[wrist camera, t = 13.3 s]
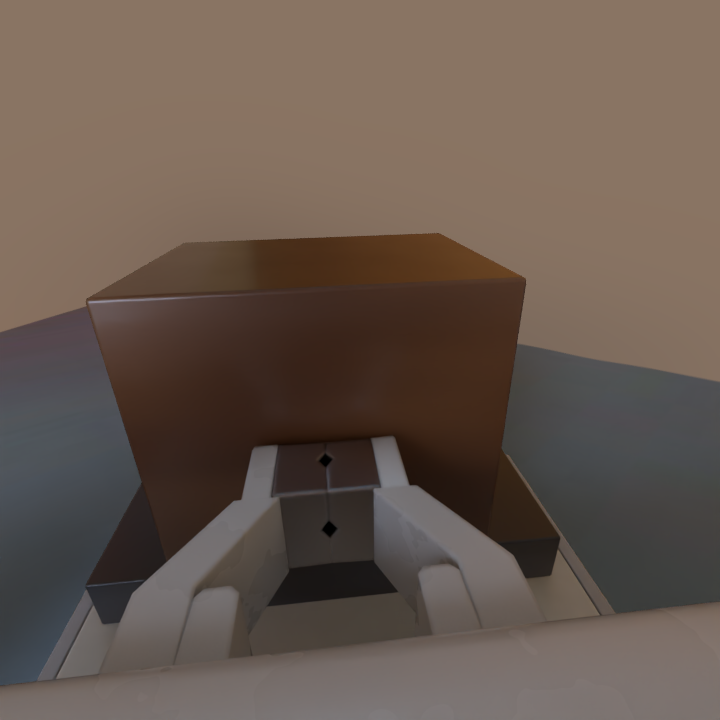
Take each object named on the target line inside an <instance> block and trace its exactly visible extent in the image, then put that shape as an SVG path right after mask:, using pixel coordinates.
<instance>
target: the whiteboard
mask: <svg viewBox="0 0 720 720" xmlns="http://www.w3.org/2000/svg"><path fill="white" fill-rule="evenodd" d="M506 456H507V458H508V459H509V461H510V462H511V464H512V465H513V467H514V468H515V470H516V471H517V473H518V474H519V476H520V477H521V479H522V480H523V482H524V483H525V485H526V486H527V488H528V489H529V491H530V492H531V494H532V495H533V497H534V498H535V500H536V501H537V503H538V504H539V506H540V507H541V509H542V510H543V512H544V513H545V515H546V516H547V518H548V519H549V521H550V522H551V524H552V525H553V527H554V528H555V530H556V531H557V533H558V534H559V536H560V538H561V539H560V543H559V547H558V551H557V555H556V559H555V563H554V567H553V571H552V575H550V576H544V577H534V578H526V580H527V582H528V584H529V586H530V588H531V590H532V592H533V594H534V596H535V598H536V600H537V602H538V604H539V606H540V608H541V610H542V611H543V613H544V615H545V617H546V619H547V621H555V620H563V619H572V618H580V617H589V616H598V615H606V614H615V612H614V610H613V609H612V607H611V606H610V604H609V603H608V601H607V600H606V598H605V597H604V596H603V594H602V593H601V591H600V590H599V588H598V587H597V585H596V584H595V582H594V581H593V579H592V578H591V576H590V575H589V573H588V572H587V570H586V569H585V567H584V566H583V564H582V563H581V561H580V560H579V558H578V557H577V556H576V554H575V553H574V551H573V550H572V548H571V547H570V545H569V544H568V542H567V541H566V539H565V538H564V536H563V535H562V533H561V532H560V530H559V529H558V527H557V526H556V524H555V523H554V521H553V520H552V518H551V517H550V516H549V514H548V513H547V511H546V510H545V508H544V507H543V505H542V504H541V502H540V501H539V499H538V498H537V496H536V495H535V493H534V492H533V490H532V489H531V487H530V486H529V484H528V483H527V481H526V480H525V478H524V477H523V476H522V474H521V473H520V471H519V470H518V468H517V467H516V465H515V464H514V462H513V461H512V459H511V458H510V456H509V455H506ZM415 619H416V613H415V612H414V610H413V609H412V608H411V607H410V605H409V604H408V603H407V602H406V601H405V599H404V598H403V597H402V596H401V594H400V593H399V592H397V593H388V594H378V595H369V596H360V597H351V598H342V599H333V600H323V601H314V602H305V603H296V604H287V605H278V606H268V607H266V609H265V610H264V612H263V613H262V615H261V617H260V618H259V620H258V621H257V623H256V624H255V626H254V628H253V629H252V631H251V632H250V634H249V635H248V636H249V641H250V646H251V651H252V655H253V656H257V655H265V654H274V653H282V652H291V651H299V650H308V649H316V648H325V647H334V646H342V645H351V644H359V643H368V642H376V641H385V640H394V639H402V638H411V637H414V635H415ZM118 625H119V623H112V624H102V623H101V620H100V618H99V616H98V614H97V611H96V609H95V607H94V605H93V603H92V600H91V598H90V596H89V594H88V591H87V589H86V591H85V593H84V595H83V596H82V598H81V600H80V602H79V604H78V606H77V607H76V609H75V611H74V613H73V615H72V617H71V619H70V620H69V622H68V624H67V626H66V628H65V630H64V631H63V633H62V635H61V637H60V639H59V641H58V642H57V644H56V646H55V648H54V650H53V652H52V653H51V655H50V657H49V659H48V661H47V663H46V665H45V666H44V668H43V670H42V672H41V674H40V676H39V677H38V679H37V681H43V680H52V679H60V678H69V677H77V676H86V675H94V674H98V671H99V669H100V667H101V665H102V662H103V660H104V658H105V655H106V653H107V651H108V648H109V646H110V644H111V641H112V639H113V637H114V635H115V632H116V630H117V628H118Z"/></svg>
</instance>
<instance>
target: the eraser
mask: <svg viewBox="0 0 720 720" xmlns="http://www.w3.org/2000/svg"><path fill="white" fill-rule="evenodd" d="M525 286H526V279H525V278H524V277H522V276H520V275H518V274H517V273H515V272H513V271H511V270H509V269H507V268H505V267H503V266H501V265H499V264H497V263H495V262H494V261H492V260H489V259H488V258H486V257H484V256H482V255H480V254H478V253H476V252H474V251H472V250H470V249H468V248H467V247H465V246H463V245H461V244H459V243H457V242H455V241H453V240H451V239H449V238H447V237H445V236H443V235H441V234H439V233H436V234H435V233H434V234H433V233H432V234H408V235H379V236H354V237H326V238H300V239H275V240H249V241H248V240H247V241H220V242H195V243H183V244H181V245H180V246H178V247H176V248H174V249H173V250H171V251H169V252H168V253H166V254H164V255H162V256H160V257H159V258H157V259H155V260H153V261H152V262H150V263H148V264H147V265H145V266H143V267H141V268H140V269H138V270H136V271H134V272H133V273H131V274H129V275H127V276H126V277H124V278H122V279H121V280H119V281H117V282H115V283H113V284H112V285H110V286H108V287H106V288H105V289H103V290H101V291H100V292H98V293H96V294H94V295H92V296H91V297H89V298H87V299H86V305H87V308H88V312H89V315H90V318H91V321H92V324H93V328H94V331H95V334H96V337H97V340H98V344H99V347H100V350H101V353H102V356H103V360H104V363H105V366H106V369H107V372H108V376H109V379H110V382H111V385H112V388H113V391H114V395H115V398H116V401H117V404H118V407H119V411H120V414H121V417H122V420H123V423H124V427H125V430H126V433H127V436H128V439H129V443H130V446H131V449H132V452H133V455H134V459H135V462H136V465H137V468H138V471H139V475H140V478H141V481H142V483H141V485H140V487H139V488H138V490H137V492H136V494H135V496H134V498H133V499H132V501H131V503H130V505H129V507H128V508H127V510H126V512H125V514H124V516H123V518H122V519H121V521H120V523H119V525H118V527H117V528H116V530H115V532H114V534H113V536H112V538H111V539H110V541H109V543H108V545H107V547H106V549H105V550H104V552H103V554H102V556H101V558H100V559H99V561H98V563H97V565H96V567H95V569H94V570H93V572H92V574H91V576H90V578H89V579H88V581H87V583H86V589H87V591H88V594H89V596H90V598H91V600H92V603H93V605H94V607H95V609H96V611H97V614H98V616H99V618H100V620H101V623H102V624H112V623H120V621H121V618H122V616H123V614H124V611H125V609H126V607H127V605H128V602H129V600H130V598H131V595H132V593H133V592H134V591H136V590H137V589H138V588H139V587H140V586H141V585H142V584H143V583H144V582H145V581H147V580H148V579H149V578H150V577H151V576H152V575H153V574H154V573H155V572H156V571H157V570H159V569H160V568H161V567H162V566H163V565H164V564H165V563H166V562H167V561H168V560H170V559H171V558H172V557H173V556H174V555H175V554H176V553H177V552H178V551H179V550H181V549H182V548H183V547H184V546H185V545H186V544H187V543H188V542H189V541H190V540H191V539H193V538H194V537H195V536H196V535H197V534H198V533H199V532H200V531H201V530H202V529H204V528H205V527H206V526H207V525H208V524H209V523H210V522H211V521H212V520H213V519H215V518H216V517H217V516H218V515H219V514H220V513H221V512H222V511H223V510H224V509H225V508H227V507H228V506H229V505H230V504H231V503H232V502H233V501H238V500H241V499H242V494H243V490H244V485H245V481H246V476H247V472H248V467H249V463H250V458H251V454H252V450H253V449H254V447H255V446H265V445H279V444H297V443H315V442H336V441H347V440H359V439H370V438H374V437H383V436H392V435H393V436H394V437H395V439H396V442H397V446H398V449H399V452H400V455H401V459H402V462H403V465H404V468H405V472H406V475H407V478H408V482H409V485H410V486H411V485H417V486H419V487H420V488H421V489H423V490H424V491H426V492H427V493H428V494H430V495H431V496H432V497H434V498H435V499H437V500H438V501H439V502H441V503H442V504H444V505H445V506H446V507H448V508H449V509H450V510H452V511H453V512H455V513H456V514H457V515H459V516H460V517H461V518H463V519H464V520H466V521H467V522H468V523H470V524H471V525H473V526H474V527H475V528H477V529H478V530H479V531H481V532H482V533H484V534H485V535H486V536H488V537H489V538H490V539H492V540H493V541H495V542H496V543H497V544H499V545H500V546H502V547H503V548H504V549H506V550H507V551H508V552H510V553H511V554H513V555H514V557H515V559H516V561H517V563H518V565H519V567H520V569H521V571H522V573H523V575H524V576H525V578H534V577H544V576H550V575H552V571H553V567H554V563H555V559H556V555H557V551H558V547H559V543H560V539H561V538H560V536H559V534H558V533H557V531H556V530H555V528H554V527H553V525H552V524H551V522H550V521H549V519H548V518H547V516H546V515H545V513H544V512H543V510H542V509H541V507H540V506H539V504H538V503H537V501H536V500H535V498H534V497H533V495H532V494H531V492H530V491H529V489H528V488H527V486H526V485H525V483H524V482H523V480H522V479H521V477H520V476H519V474H518V473H517V471H516V470H515V468H514V467H513V465H512V464H511V462H510V461H509V459H508V458H507V456H506V455H505V453H504V452H503V450H502V449H501V447H502V440H503V434H504V427H505V420H506V414H507V407H508V400H509V394H510V387H511V380H512V373H513V367H514V360H515V353H516V347H517V339H518V333H519V327H520V320H521V313H522V306H523V300H524V293H525ZM397 592H398V591H397V589H396V588H395V587H394V586H393V585H392V583H391V582H390V581H389V580H388V578H387V577H386V576H385V575H384V573H383V572H382V571H381V570H380V569H379V567H378V566H377V565H376V564H375V562H374V560H369V561H355V562H341V563H329V564H321V565H314V566H306V567H298V568H291V569H289V572H288V574H287V575H286V577H285V579H284V580H283V582H282V583H281V585H280V587H279V588H278V590H277V591H276V593H275V594H274V596H273V598H272V599H271V601H270V602H269V604H268V605H267V607H268V606H278V605H287V604H296V603H305V602H314V601H323V600H333V599H342V598H351V597H360V596H369V595H378V594H388V593H397Z"/></svg>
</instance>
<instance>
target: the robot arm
mask: <svg viewBox="0 0 720 720" xmlns="http://www.w3.org/2000/svg"><path fill="white" fill-rule="evenodd" d="M369 560H374V562H375V564H376V565H377V566H378V567H379V569H380V570H381V571H382V572H383V573H384V575H385V576H386V577H387V578H388V580H389V581H390V582H391V583H392V585H393V586H394V587H395V588H396V589H397V591H398V592H399V593H400V594H401V596H402V597H403V598H404V599H405V601H406V602H407V603H408V604H409V605H410V607H411V608H412V609H413V610H414V612H415V613H416V619H415V635H414V637H411V638H402V639H394V640H385V641H376V642H368V643H359V644H351V645H342V646H334V647H325V648H316V649H308V650H299V651H291V652H282V653H274V654H265V655H257V656H253V655H252V651H251V646H250V641H249V636H248V635H249V634H250V632H251V631H252V629H253V628H254V626H255V624H256V623H257V621H258V620H259V618H260V617H261V615H262V613H263V612H264V610H265V609H266V607H267V605H268V604H269V602H270V601H271V599H272V598H273V596H274V594H275V593H276V591H277V590H278V588H279V587H280V585H281V583H282V582H283V580H284V579H285V577H286V575H287V574H288V572H289V569H291V568H298V567H306V566H314V565H321V564H329V563H341V562H355V561H369ZM0 720H720V601H718V602H709V603H701V604H692V605H683V606H675V607H666V608H658V609H649V610H641V611H632V612H623V613H615V614H606V615H598V616H589V617H580V618H572V619H563V620H555V621H547V619H546V617H545V615H544V613H543V611H542V610H541V608H540V606H539V604H538V602H537V600H536V598H535V596H534V594H533V592H532V590H531V588H530V586H529V584H528V582H527V580H526V578H525V576H524V575H523V573H522V571H521V569H520V567H519V565H518V563H517V561H516V559H515V557H514V555H513V554H511V553H510V552H508V551H507V550H506V549H504V548H503V547H502V546H500V545H499V544H497V543H496V542H495V541H493V540H492V539H490V538H489V537H488V536H486V535H485V534H484V533H482V532H481V531H479V530H478V529H477V528H475V527H474V526H473V525H471V524H470V523H468V522H467V521H466V520H464V519H463V518H461V517H460V516H459V515H457V514H456V513H455V512H453V511H452V510H450V509H449V508H448V507H446V506H445V505H444V504H442V503H441V502H439V501H438V500H437V499H435V498H434V497H432V496H431V495H430V494H428V493H427V492H426V491H424V490H423V489H421V488H420V487H419V486H417V485H411V486H410V485H409V482H408V478H407V475H406V472H405V468H404V465H403V462H402V459H401V455H400V452H399V449H398V446H397V442H396V439H395V437H394V436H393V435H392V436H383V437H374V438H370V439H359V440H347V441H336V442H315V443H297V444H279V445H265V446H255V447H254V449H253V450H252V454H251V458H250V463H249V467H248V472H247V476H246V481H245V485H244V490H243V494H242V499H241V500H238V501H233V502H232V503H231V504H230V505H229V506H228V507H227V508H225V509H224V510H223V511H222V512H221V513H220V514H219V515H218V516H217V517H216V518H215V519H213V520H212V521H211V522H210V523H209V524H208V525H207V526H206V527H205V528H204V529H202V530H201V531H200V532H199V533H198V534H197V535H196V536H195V537H194V538H193V539H191V540H190V541H189V542H188V543H187V544H186V545H185V546H184V547H183V548H182V549H181V550H179V551H178V552H177V553H176V554H175V555H174V556H173V557H172V558H171V559H170V560H168V561H167V562H166V563H165V564H164V565H163V566H162V567H161V568H160V569H159V570H157V571H156V572H155V573H154V574H153V575H152V576H151V577H150V578H149V579H148V580H147V581H145V582H144V583H143V584H142V585H141V586H140V587H139V588H138V589H137V590H136V591H134V592H133V593H132V595H131V598H130V600H129V602H128V605H127V607H126V609H125V611H124V614H123V616H122V618H121V621H120V623H119V625H118V628H117V630H116V632H115V635H114V637H113V639H112V641H111V644H110V646H109V648H108V651H107V653H106V655H105V658H104V660H103V662H102V665H101V667H100V669H99V671H98V674H94V675H86V676H77V677H69V678H60V679H52V680H43V681H35V682H26V683H18V684H9V685H1V686H0Z"/></svg>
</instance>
